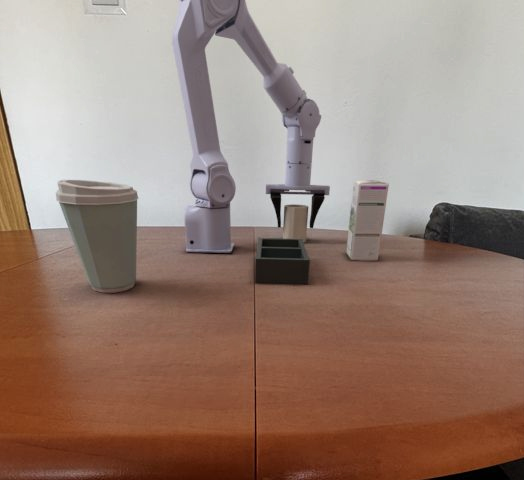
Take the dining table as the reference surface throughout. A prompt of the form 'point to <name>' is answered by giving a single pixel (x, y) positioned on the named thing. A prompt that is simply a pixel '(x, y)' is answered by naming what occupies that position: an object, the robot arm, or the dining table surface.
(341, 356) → the dining table surface
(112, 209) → the disposable coffee cup
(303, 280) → the cup holder
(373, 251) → the syrup box
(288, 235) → the paper cup
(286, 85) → the robot arm
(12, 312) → the dining table surface
